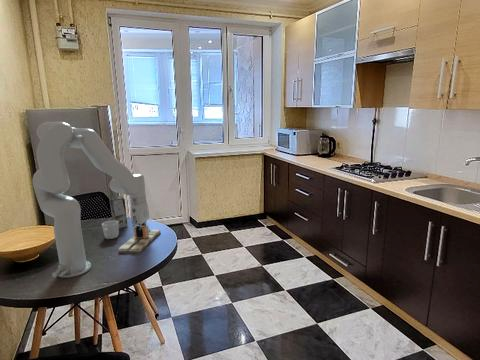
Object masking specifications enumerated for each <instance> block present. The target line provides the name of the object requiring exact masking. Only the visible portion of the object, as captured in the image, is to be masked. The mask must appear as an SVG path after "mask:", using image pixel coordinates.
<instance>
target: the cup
mask: <svg viewBox="0 0 480 360" xmlns="http://www.w3.org/2000/svg"><path fill="white" fill-rule="evenodd" d="M101 227H102V232H103V235H104V238H105V239H106V240H114V239H116V238H118V236H119V234H120V233H119V232H120V231H119V229H120V228H119V222H118V221H116V220H106V221H104V222H101Z"/></svg>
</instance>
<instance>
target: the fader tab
mask: <svg viewBox="0 0 480 360" xmlns="http://www.w3.org/2000/svg"><path fill="white" fill-rule="evenodd" d="M137 226H139V225H137ZM141 229H142V231H143V237H136V230H135V228H133V236H135V238H141V239H142V238H147V237H148V236H149V225H146V226H141Z"/></svg>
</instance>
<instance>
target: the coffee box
mask: <svg viewBox="0 0 480 360" xmlns="http://www.w3.org/2000/svg"><path fill="white" fill-rule="evenodd" d="M109 205H110V212H111V219H112V220H116V221H118V222H119V229H121V228H126V227H128V217H127V208H126V199H125V198H124V197H123V196H122V195H117V196H113V197H109Z"/></svg>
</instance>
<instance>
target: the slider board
mask: <svg viewBox="0 0 480 360" xmlns="http://www.w3.org/2000/svg"><path fill="white" fill-rule="evenodd" d="M160 234H161V229H154V228H153V229H151V230H150V229H149V236H148V237H147V238H142V239H141V238H135V236H134V235H133V236H132V237H130V238H129V239H128V240H127V241H125V243H123V244H122V245H121V246H120V247H118V248H117V249H118V253H119V254H137V255H138V254H141V253H142V252H143V250H145V249H146V248H147V247H148V246H149V245H150V244H151V243H152V242H153V241H154V240H155V239H156V238H157V237H159V235H160Z"/></svg>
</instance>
